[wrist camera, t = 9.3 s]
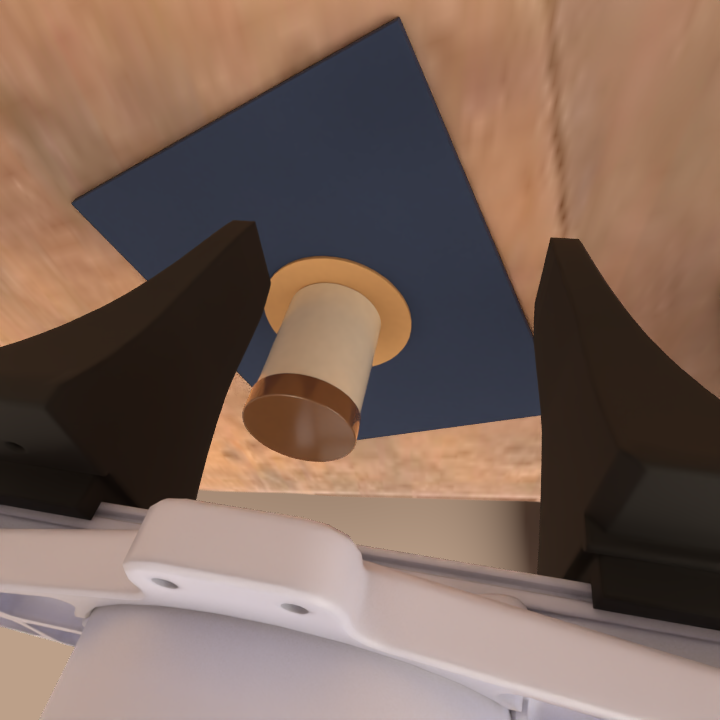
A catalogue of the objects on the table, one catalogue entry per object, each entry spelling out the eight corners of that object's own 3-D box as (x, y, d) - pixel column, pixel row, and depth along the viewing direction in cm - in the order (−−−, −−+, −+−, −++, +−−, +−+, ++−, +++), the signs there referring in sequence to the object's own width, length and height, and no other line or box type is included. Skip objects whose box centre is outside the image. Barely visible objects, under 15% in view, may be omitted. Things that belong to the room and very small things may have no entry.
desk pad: (562, 407, 30) (563, 415, 30) (311, 441, 39) (309, 448, 39) (399, 15, 17) (396, 21, 17) (74, 199, 26) (68, 205, 26)
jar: (400, 340, 28) (376, 456, 24) (320, 359, 31) (285, 466, 26) (352, 268, 25) (315, 385, 20) (268, 295, 28) (218, 405, 23)
